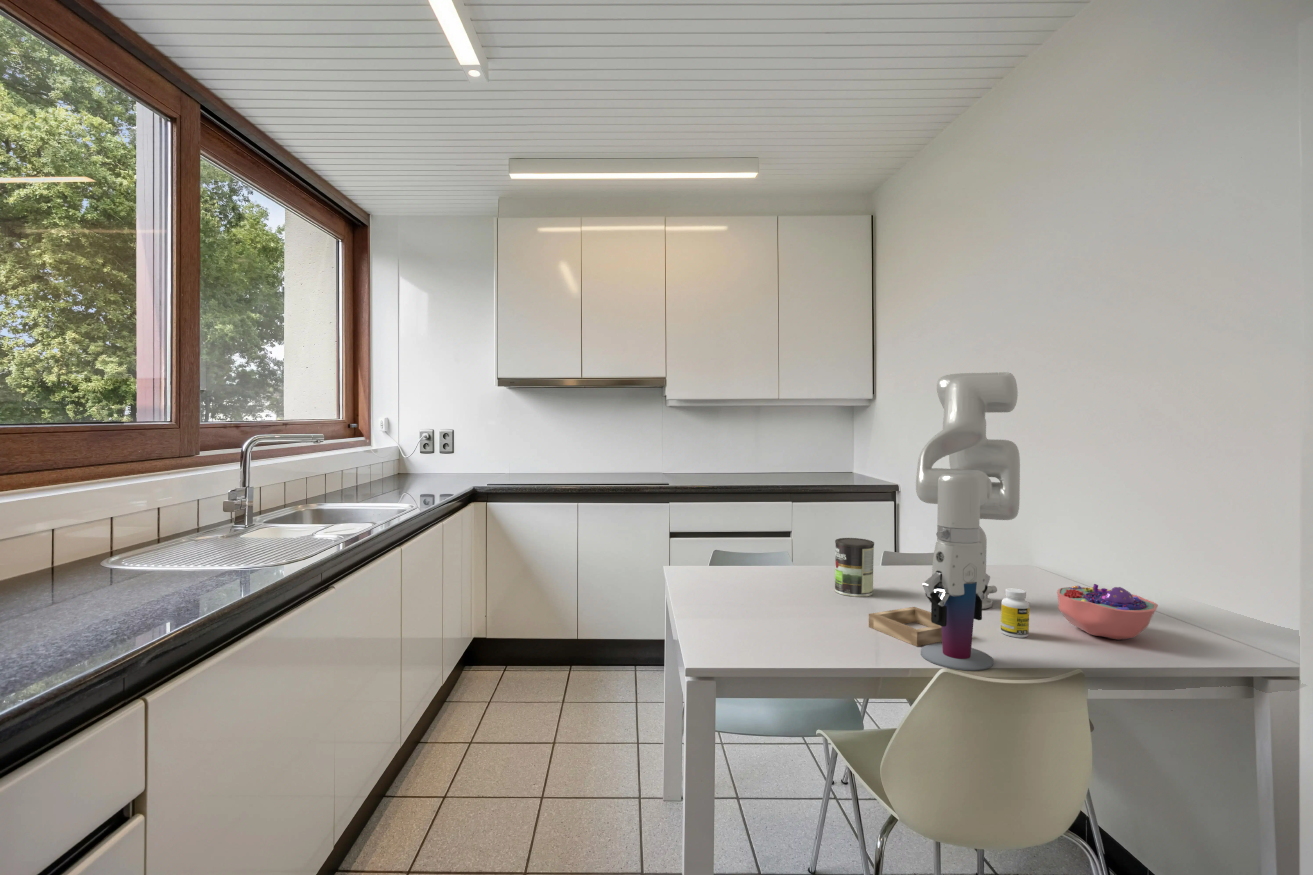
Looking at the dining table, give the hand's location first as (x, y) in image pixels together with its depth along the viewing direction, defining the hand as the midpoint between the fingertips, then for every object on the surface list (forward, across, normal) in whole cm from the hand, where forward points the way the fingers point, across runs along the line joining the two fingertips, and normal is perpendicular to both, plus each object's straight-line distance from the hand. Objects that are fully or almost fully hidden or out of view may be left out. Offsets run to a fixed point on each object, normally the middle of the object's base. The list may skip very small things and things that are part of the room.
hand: (956, 621), depth 127 cm
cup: (+7, 0, 0) cm, 7 cm away
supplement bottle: (+7, +24, +5) cm, 26 cm away
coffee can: (+7, +16, +47) cm, 50 cm away
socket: (+7, +5, +15) cm, 17 cm away
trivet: (+7, 0, 0) cm, 7 cm away
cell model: (+8, +42, -3) cm, 43 cm away
